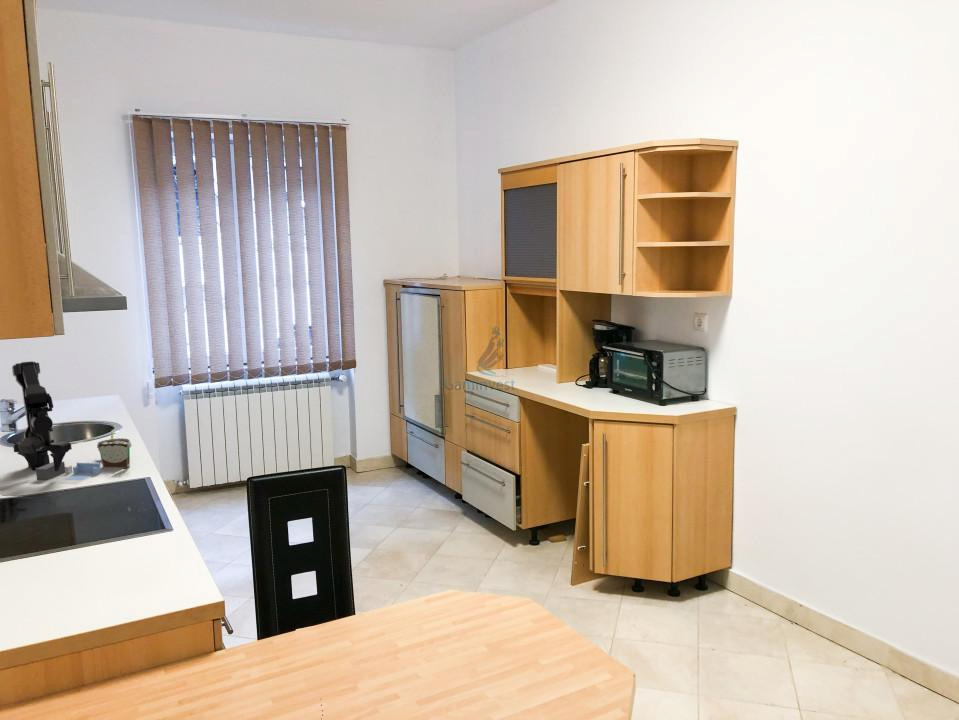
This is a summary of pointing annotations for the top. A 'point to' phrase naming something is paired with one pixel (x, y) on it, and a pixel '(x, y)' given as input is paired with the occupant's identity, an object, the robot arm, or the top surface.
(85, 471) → the miniature room diorama
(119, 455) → the food container
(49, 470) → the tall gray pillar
